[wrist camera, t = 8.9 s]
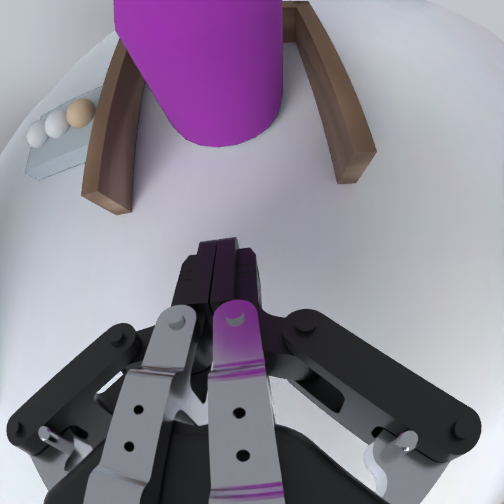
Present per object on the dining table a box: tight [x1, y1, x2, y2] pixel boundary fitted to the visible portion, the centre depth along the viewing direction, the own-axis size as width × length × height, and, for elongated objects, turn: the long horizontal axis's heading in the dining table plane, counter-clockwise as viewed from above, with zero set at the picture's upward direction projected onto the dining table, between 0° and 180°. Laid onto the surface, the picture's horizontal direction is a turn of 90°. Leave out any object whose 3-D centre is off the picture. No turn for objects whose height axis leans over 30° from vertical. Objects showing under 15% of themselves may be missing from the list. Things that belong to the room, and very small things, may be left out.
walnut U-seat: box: [81, 1, 377, 215], centre depth 15 cm, size 15×15×4 cm
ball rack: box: [25, 86, 103, 180], centre depth 16 cm, size 8×6×4 cm
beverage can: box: [114, 0, 283, 147], centre depth 11 cm, size 8×8×12 cm
